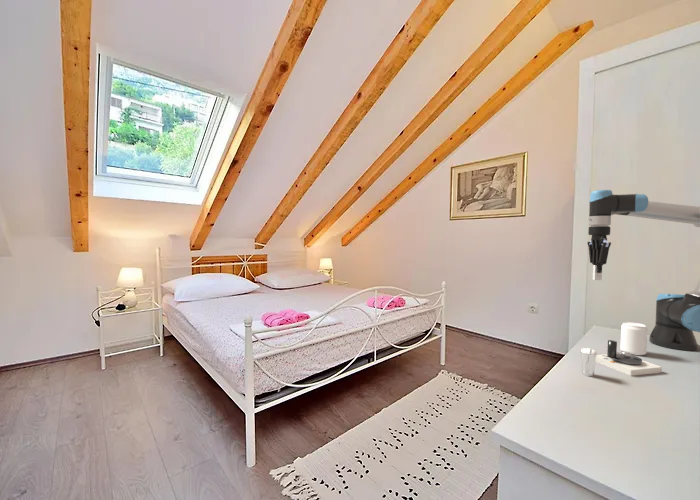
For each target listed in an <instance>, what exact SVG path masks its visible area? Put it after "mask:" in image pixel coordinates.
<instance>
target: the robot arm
mask: <svg viewBox="0 0 700 500" xmlns="http://www.w3.org/2000/svg"><path fill="white" fill-rule="evenodd" d="M590 192H591V193H590V194H589V195H590V196H589V202H588V203H589V217H588V226H589V227H588V233H587V235H589V236H591V238H590V241H587V246H588V254H589V263H590V264H592V265H593V267H592V280H594V281H603V280H602V278H603V266H604V265H607V260H608V256H609V250H610V247H611V245H612V242H611V241H609V242H608V238H607V237H608V236H610V235H611V227H610V226H611V224H612V216H614V215H617V216H627V217H635V218H643V219H650V220H657V221H666V222H675V223H682V224H691V225H693V226H694V227H696V228H700V206H695V205H687V204H678V203H669V202H661V201H660V202H659V201H658V202H657V201H650V200H649V198H648V196H647V195H646V194H645V193H634V194H633V193H628V194H627V193H626V194H613V191H612V190H611V189H598V190H593V191H590ZM655 301H656V302H655V303H656V304H655V325H654V327H653V329H652V331H651V332H650V335H649V338H648V339H649V342H650V343H652V344H654V345H656V346H660V347H663V348H668V349H673V350H679V351H689V352H690V351H697V350H698V345H699V344H698V342H697V339H696V336H695V334H694V332H697V333H700V279H699V280H698V282H697V284H696V285H695V286H694V289H693V290H691V291H687V292H686V293H685V294H679V293H677V294H676V293H658V294H657V296H656V299H655Z"/></svg>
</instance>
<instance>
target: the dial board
mask: <svg viewBox="0 0 700 500" xmlns="http://www.w3.org/2000/svg"><path fill="white" fill-rule="evenodd" d="M596 363H597V364H600V365H603V366H605V367H608V368H610V369H613V370H615V371H617V372H620V373H622V374H624V375H627V376H629V377H633V376H634V377H636V376H642V375H653V374H660V373H662V372H663V371H662V370H663V366H661V365H658V364H654V363H652V362H648V361H646V360H643V359H642V364H641V365H630V364H624V363H620V362H617V361H615V360H612V359H611V358H609V357H607V353H605V354H604V353H603V354H597V358H596Z"/></svg>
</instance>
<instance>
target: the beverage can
mask: <svg viewBox="0 0 700 500" xmlns="http://www.w3.org/2000/svg"><path fill="white" fill-rule="evenodd" d="M620 327H621V328H620V347H619V348H620V349H619V350H621V351H627V352H630V353H631V355H633V356H644V355H647V343H648V342H647V341H648V328H647V326H646V325H645V324H643V323H638V322H632V321H623V323H622V324H621V326H620Z"/></svg>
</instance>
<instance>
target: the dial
mask: <svg viewBox="0 0 700 500" xmlns="http://www.w3.org/2000/svg"><path fill="white" fill-rule="evenodd" d="M617 347H618V341H616V340H612V339H608V340H607V350H606V352H607V353H606V354H607V357H609V358H611V359H612V360H615V361H617V362H620V363H624V364H630V365H641V364H642V360H643V359H642V358H640V357H638V356H637V355H632V354H631V353H630V352H627V351H622V350H621V351H618V349H617ZM617 351H618V352H617Z"/></svg>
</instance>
